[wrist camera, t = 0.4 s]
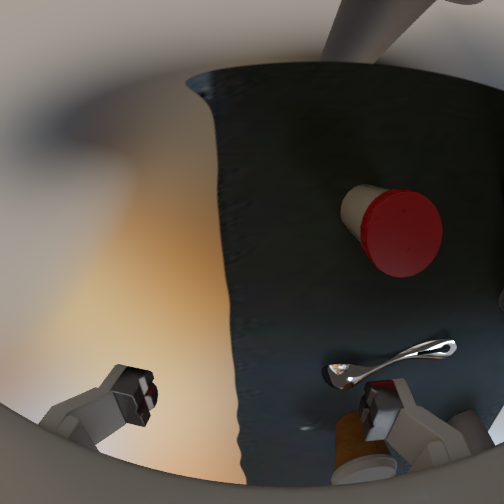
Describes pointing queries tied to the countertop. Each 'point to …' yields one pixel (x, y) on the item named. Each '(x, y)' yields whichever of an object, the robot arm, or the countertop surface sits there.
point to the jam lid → (401, 232)
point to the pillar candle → (472, 431)
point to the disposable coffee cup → (359, 454)
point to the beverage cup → (501, 301)
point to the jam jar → (358, 206)
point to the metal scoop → (354, 374)
